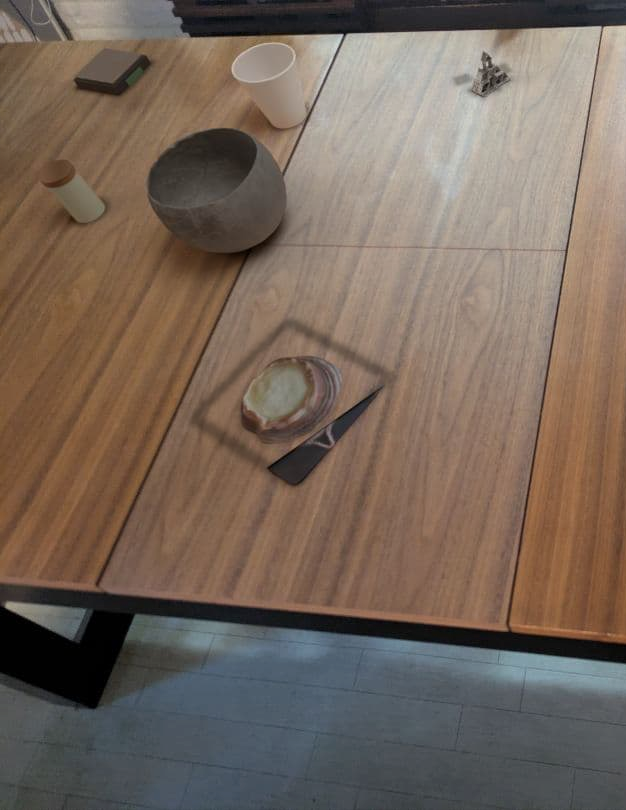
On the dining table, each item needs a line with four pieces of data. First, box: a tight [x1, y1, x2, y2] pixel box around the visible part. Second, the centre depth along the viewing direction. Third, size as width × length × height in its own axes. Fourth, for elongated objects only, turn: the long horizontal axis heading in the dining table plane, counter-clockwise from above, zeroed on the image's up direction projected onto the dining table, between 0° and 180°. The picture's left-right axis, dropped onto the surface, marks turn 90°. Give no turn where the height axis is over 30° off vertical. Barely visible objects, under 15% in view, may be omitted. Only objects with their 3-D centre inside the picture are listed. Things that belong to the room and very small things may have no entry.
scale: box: [73, 47, 152, 96], centre depth 150 cm, size 11×11×3 cm
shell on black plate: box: [240, 355, 385, 485], centre depth 102 cm, size 21×20×4 cm
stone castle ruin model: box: [470, 50, 512, 99], centre depth 135 cm, size 9×9×8 cm
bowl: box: [145, 127, 288, 254], centre depth 117 cm, size 20×20×15 cm
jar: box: [37, 159, 106, 224], centre depth 125 cm, size 6×6×10 cm
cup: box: [230, 41, 307, 130], centre depth 133 cm, size 12×12×12 cm
